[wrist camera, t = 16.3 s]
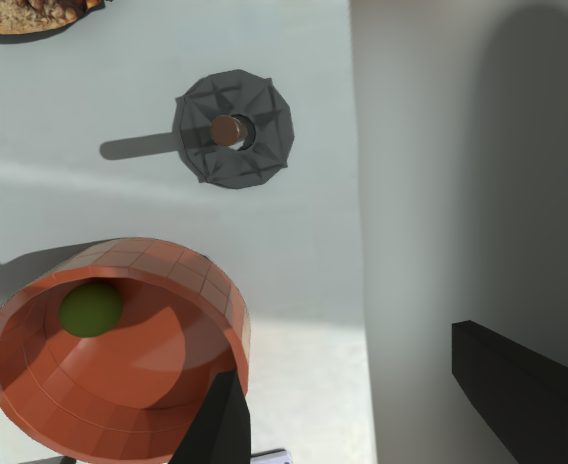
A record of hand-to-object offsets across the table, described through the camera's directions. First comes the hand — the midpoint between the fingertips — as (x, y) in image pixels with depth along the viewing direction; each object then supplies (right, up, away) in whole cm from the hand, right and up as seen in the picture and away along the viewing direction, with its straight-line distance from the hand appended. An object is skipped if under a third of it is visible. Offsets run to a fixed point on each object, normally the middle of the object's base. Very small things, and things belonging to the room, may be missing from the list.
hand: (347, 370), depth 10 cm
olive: (-13, 0, +7) cm, 14 cm away
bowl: (-11, -2, +10) cm, 15 cm away
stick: (-4, +9, +3) cm, 10 cm away
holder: (-5, +10, +6) cm, 13 cm away
